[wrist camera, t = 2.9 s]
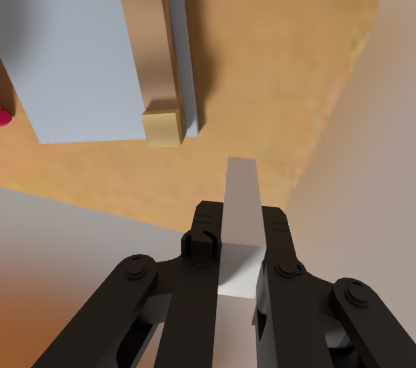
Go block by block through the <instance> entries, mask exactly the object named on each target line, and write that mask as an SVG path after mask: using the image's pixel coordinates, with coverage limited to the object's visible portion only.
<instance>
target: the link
mask: <svg viewBox="0 0 416 368" xmlns="http://www.w3.org/2000/svg"><path fill="white" fill-rule="evenodd" d="M121 3H122V8H123V13H124V17H125V22H126V26H127V31H128V35H129V40H130V44H131V49H132V54H133V58H134V63H135V67H136V72H137V76H138V81H139V85H140V90H141V94H142V99H143V104H144V108H145V112H144V113H142V114H141V118H142V122H143V127H144V131H145V135H146V140H147V144H148V148H152V147H174V146H181V144H182V142H183V140H184V138H185V136H186V133H187V127H186V120H185V113H184V105H183V98H182V91H181V84H180V77H179V69H178V62H177V55H176V48H175V41H174V33H173V26H172V19H171V12H170V5H169V0H121Z"/></svg>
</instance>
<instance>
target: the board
mask: <svg viewBox="0 0 416 368" xmlns="http://www.w3.org/2000/svg"><path fill="white" fill-rule="evenodd" d="M169 5H170V12H171V19H172V26H173V33H174V41H175V48H176V55H177V62H178V69H179V77H180V84H181V91H182V98H183V105H184V113H185V120H186V127H187V133H186V136H185V137H189V136H198V134H199V124H198V115H197V106H196V97H195V88H194V80H193V71H192V62H191V53H190V44H189V35H188V26H187V17H186V8H185V0H169ZM0 59H1V61H2V63H3V65H4V67H5V69H6V71H7V74H8V76H9V78H10V80H11V82H12V84H13V86H14V88H15V91H16V93H17V95H18V97H19V99H20V101H21V103H22V106H23V108H24V110H25V112H26V114H27V116H28V118H29V121H30V123H31V125H32V127H33V129H34V131H35V133H36V135H37V138H38V140H39V142H40V144H51V143H71V142H91V141H110V140H130V139H146V135H145V131H144V127H143V122H142V118H141V114H142V113H144V112H145V108H144V104H143V99H142V94H141V90H140V85H139V81H138V76H137V72H136V67H135V63H134V58H133V54H132V49H131V44H130V40H129V35H128V31H127V26H126V22H125V17H124V13H123V8H122V3H121V0H0Z"/></svg>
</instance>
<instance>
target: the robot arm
mask: <svg viewBox="0 0 416 368" xmlns="http://www.w3.org/2000/svg"><path fill="white" fill-rule="evenodd" d="M255 293H256V298H257V304H256V308H255V312H254V316H253V320H252V325H255V328H256V349H257V368H416V344H415V343H414V341H413V340H412V339H411V337H410V336H409V335H408V334H407V332H406V331H405V330H404V328H403V327H402V326H401V325H400V323H399V322H398V321H397V319H396V318H395V317H394V315H393V314H392V313H391V312H390V310H389V309H388V308H387V307H386V305H385V304H384V303H383V301H382V300H381V299H380V297H379V296H378V295H377V294H376V293H375V292H374V291H373V290H372V289H371V288H370V287H369V286H367V285H366V284H364V283H363V282H361V281H359V280H356V279H353V278H341V279H338V280H337V281H336V282H335V283H334V284H333V283H330V282H328V281H325V280H322V279H320V278H317V277H315V276H313V275H311V274H310V273H308V272H307V271H306V269H305V267H304V265H303V264H302V263H301V262H300V261H298V260H297V257H296V253H295V249H294V245H293V241H292V237H291V233H290V229H289V226H288V222H287V217H286V215H285V214H284V212H283V211H282V210H281V209H280V208H278V207H268V206H261V199H260V191H259V183H258V176H257V168H256V160H255V159H249V158H238V157H228V162H227V171H226V181H225V191H224V202H223V203H222V202H212V201H201V202H200V203H199V204H198V206H197V207H196V210H195V214H194V218H193V222H192V227H191V230H189V231H188V232H186V233H185V234H184V235H183V237H182V239H181V255H180V256H179V257H177V258H175V259H172V260H168V261H163V262H157V263H156V262H155V261H154V259H153V258H151V257H149V256H148V255H142V254H137V255H132V256H130V257H127V258H125V259H124V260H123V261H121V262H120V263H119V264H118V265H117V266H116V268H115V269H114V270H113V271H112V272H111V273H110V275H109V276H108V277H107V278H106V279H105V281H104V282H103V283H102V284H101V285H100V287H99V288H98V289H97V290H96V291H95V292H94V294H93V295H92V296H91V297H90V298H89V299H88V301H87V302H86V303H85V304H84V305H83V307H82V308H81V309H80V310H79V311H78V313H77V314H76V315H75V316H74V317H73V318H72V320H71V321H70V322H69V323H68V324H67V326H66V327H65V328H64V329H63V330H62V331H61V333H60V334H59V335H58V336H57V338H56V339H55V340H54V341H53V342H52V343H51V344H50V346H49V347H48V348H47V349H46V351H45V352H44V353H43V354H42V355H41V356H40V357H39V359H38V360H37V361H36V362H35V363H34V365H33V366H32V367H31V368H136V366H137V364H138V363H139V361H140V359H141V357H142V355H143V353H144V351H145V349H146V348H147V346H148V344H149V342H150V340H151V338H152V336H153V334H154V332H155V331H156V328H157V327H158V325H159V323H162V322H165V324H164V328H163V332H162V336H161V340H160V344H159V348H158V352H157V356H156V360H155V364H154V368H212V359H213V358H212V357H213V345H214V334H215V320H216V308H217V295H218V294H222V295H230V296H237V297H246V298H253V299H254V298H255Z"/></svg>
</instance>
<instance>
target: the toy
mask: <svg viewBox="0 0 416 368" xmlns="http://www.w3.org/2000/svg"><path fill="white" fill-rule="evenodd" d="M11 120H12V117H11V114H9V113H8V112H6V111H5V110H3V109H0V126H4V125H6V124H8V123H9V122H10V121H11Z"/></svg>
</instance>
